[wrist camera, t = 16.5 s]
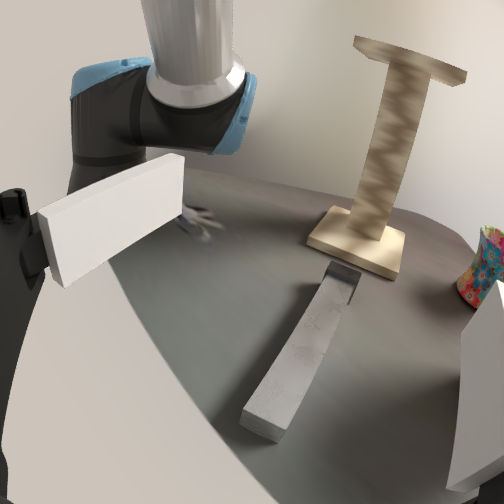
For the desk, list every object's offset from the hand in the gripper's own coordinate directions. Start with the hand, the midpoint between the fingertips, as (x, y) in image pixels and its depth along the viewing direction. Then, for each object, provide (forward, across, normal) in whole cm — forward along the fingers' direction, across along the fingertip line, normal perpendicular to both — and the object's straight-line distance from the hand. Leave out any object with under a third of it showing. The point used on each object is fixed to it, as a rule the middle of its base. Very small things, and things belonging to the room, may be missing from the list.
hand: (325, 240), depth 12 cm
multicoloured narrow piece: (+35, +23, -19) cm, 46 cm away
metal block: (+12, 0, -19) cm, 22 cm away
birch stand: (+37, 0, -19) cm, 41 cm away
